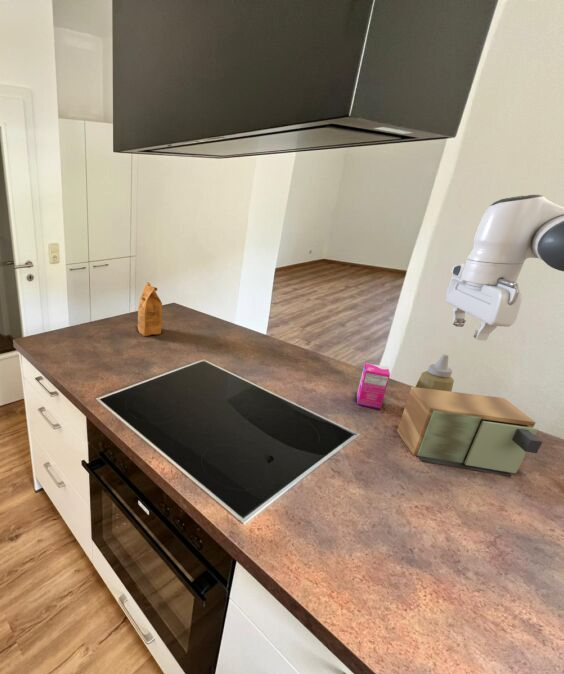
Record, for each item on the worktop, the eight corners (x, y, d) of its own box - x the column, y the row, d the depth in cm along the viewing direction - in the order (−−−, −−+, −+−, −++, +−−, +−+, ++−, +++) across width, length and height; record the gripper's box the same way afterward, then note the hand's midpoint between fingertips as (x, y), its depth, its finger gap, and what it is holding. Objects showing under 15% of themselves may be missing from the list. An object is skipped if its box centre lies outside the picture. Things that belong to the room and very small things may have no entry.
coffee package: (155, 326, 169) (157, 280, 161) (163, 336, 158) (165, 287, 150) (135, 328, 168) (135, 281, 160) (141, 337, 156) (142, 288, 148)
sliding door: (514, 471, 78) (535, 428, 74) (529, 486, 74) (553, 441, 69) (463, 463, 80) (482, 420, 76) (475, 477, 76) (495, 433, 72)
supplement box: (355, 396, 109) (364, 362, 105) (379, 401, 106) (389, 366, 102) (356, 405, 104) (365, 369, 100) (380, 410, 101) (391, 374, 97)
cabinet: (483, 444, 87) (504, 398, 83) (516, 477, 77) (542, 427, 72) (396, 430, 93) (411, 386, 88) (416, 460, 82) (434, 412, 78)
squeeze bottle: (398, 409, 102) (417, 351, 95) (419, 404, 104) (439, 347, 98) (429, 425, 95) (452, 363, 88) (450, 419, 97) (474, 359, 90)
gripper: (542, 284, 69) (514, 350, 74) (480, 266, 87) (461, 320, 92) (501, 283, 71) (476, 347, 76) (449, 265, 89) (432, 318, 94)
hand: (468, 332), depth 85 cm, fingers open, 8 cm apart
